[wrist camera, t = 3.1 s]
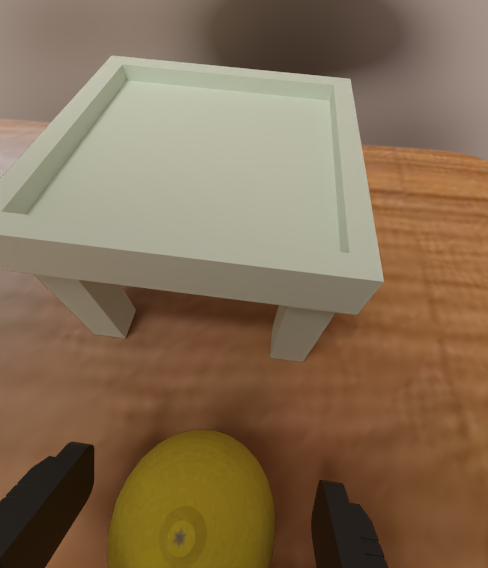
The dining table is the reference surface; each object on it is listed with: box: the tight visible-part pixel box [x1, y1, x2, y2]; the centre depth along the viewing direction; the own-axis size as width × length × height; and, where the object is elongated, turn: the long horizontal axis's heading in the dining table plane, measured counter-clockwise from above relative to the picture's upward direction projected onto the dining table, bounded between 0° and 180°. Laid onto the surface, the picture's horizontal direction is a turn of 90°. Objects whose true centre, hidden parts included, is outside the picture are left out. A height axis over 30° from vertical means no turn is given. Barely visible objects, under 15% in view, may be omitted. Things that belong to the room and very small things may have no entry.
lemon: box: [107, 429, 276, 568], centre depth 10 cm, size 6×6×8 cm
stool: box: [0, 56, 384, 362], centre depth 17 cm, size 14×14×10 cm
